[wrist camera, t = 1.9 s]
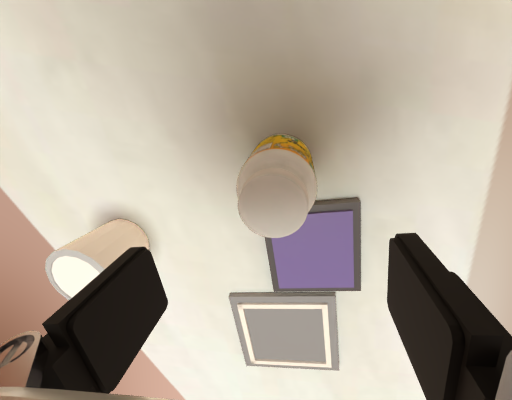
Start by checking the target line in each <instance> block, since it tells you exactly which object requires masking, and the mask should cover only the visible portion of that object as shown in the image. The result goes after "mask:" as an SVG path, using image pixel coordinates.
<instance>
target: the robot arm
mask: <svg viewBox="0 0 512 400" xmlns="http://www.w3.org/2000/svg"><path fill="white" fill-rule="evenodd" d="M387 303H388V308H389V311H390V313H391V316H392V318H393V321H394V323H395V325H396V328H397V330H398V333H399V335H400V337H401V340H402V342H403V345H404V347H405V349H406V352H407V354H408V356H409V359H410V361H411V364H412V366H413V368H414V371H415V373H416V376H417V378H418V380H419V383H420V385H421V388H422V390H423V392H424V395H425V397H426V400H512V336H511V335H510V334H509V333H508V331H507V330H506V329H505V328H504V327H503V326H502V325H501V324H500V323H499V321H498V320H497V319H496V318H495V317H494V316H493V315H492V313H490V311H489V310H488V309H487V308H486V307H485V306H484V304H483V303H482V302H481V301H480V300H479V299H478V298H477V297H476V296H475V294H474V293H473V292H472V291H471V290H470V289H469V288H468V286H467V285H466V284H465V283H464V282H463V281H462V280H461V279H460V277H459V276H458V275H456V274H455V273H453V272H449V271H448V270H447V269H446V267H445V266H444V265H443V264H442V263H441V262H440V260H439V259H438V258H437V257H436V256H435V255H434V253H433V252H432V251H431V250H430V249H429V248H428V246H427V245H426V244H425V243H424V242H423V241H422V239H421V238H420V237H419V236H418V235H417V234H416V233H404V234H396V236H395V238H391V239H390V242H389V266H388V292H387ZM167 305H168V300H167V297H166V294H165V291H164V288H163V285H162V283H161V280H160V277H159V274H158V271H157V268H156V266H155V263H154V260H153V257H152V254H151V252H150V251H149V250H147V248H146V247H130V248H129V249H128V250H126V251H125V252H124V253H123V254H122V255H121V256H119V257H118V258H117V259H116V260H115V261H114V262H113V263H111V264H110V265H109V266H108V267H107V268H106V269H105V270H103V271H102V272H101V273H100V274H99V275H98V276H97V277H95V278H94V279H93V280H92V281H91V282H90V283H88V284H87V285H86V286H85V287H84V288H83V289H82V290H80V291H79V292H78V293H77V294H76V295H75V296H74V297H72V298H71V299H70V300H69V301H68V302H67V303H66V304H64V305H63V306H62V307H61V308H60V309H59V310H58V311H56V312H55V313H54V314H53V315H52V316H51V317H50V318H48V319H47V320H46V321H45V322H44V323H43V324H42V325H43V326H44V328H45V330H46V331H47V334H46V335H45V336H44V337H42V335H41V334H40V333H39V332H38V331H28V332H24V333H22V334H19V335H16V336H14V337H12V338H10V339H8V340H7V341H6V342H4V343H2V344H0V400H174V399H163V398H151V397H141V396H130V395H118V394H109V393H110V392H111V391H113V390H114V389H115V388H116V386H117V385H118V383H119V382H120V380H121V379H122V377H123V375H124V374H125V372H126V371H127V369H128V368H129V366H130V365H131V363H132V361H133V360H134V358H135V357H136V355H137V354H138V352H139V350H140V349H141V347H142V346H143V344H144V343H145V341H146V340H147V338H148V336H149V335H150V333H151V332H152V330H153V329H154V327H155V325H156V324H157V322H158V321H159V319H160V318H161V316H162V315H163V313H164V311H165V310H166V308H167Z"/></svg>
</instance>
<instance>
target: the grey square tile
mask: <svg viewBox="0 0 512 400" xmlns="http://www.w3.org/2000/svg"><path fill="white" fill-rule="evenodd" d="M229 300H230V304H231V308H232V311H233V315H234V319H235V323H236V327H237V331H238V335H239V339H240V343H241V347H242V351H243V355H244V358H245V362H246V366H263V367H282V368H301V369H320V370H339V357H338V338H337V318H336V299H335V292H300V293H230V295H229Z"/></svg>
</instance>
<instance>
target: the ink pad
mask: <svg viewBox="0 0 512 400" xmlns="http://www.w3.org/2000/svg"><path fill="white" fill-rule="evenodd" d="M265 241H266V247H267V253H268V259H269V265H270V271H271V277H272V283H273V289H274V292H284V291H361V202H360V200H359V198H350V199H338V200H325V201H315V202H314V204H313V206H312V208H311V209H310V211H309V212H308V214H307V217H306V220H305V222H304V223H303V225H302V226H301V227H300V228H299V229H298V230H297V231H296V232H294V233H292V234H291V235H288V236H285V237H281V238H268V237H265Z"/></svg>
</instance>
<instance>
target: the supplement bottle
mask: <svg viewBox="0 0 512 400" xmlns="http://www.w3.org/2000/svg"><path fill="white" fill-rule="evenodd" d="M236 186H237V196H238V211H239V214H240V217H241V219H242V221H243V222H244V224H245V225H246V226H247V227H248V228H249V229H250V230H251V231H253V232H254V233H256V234H258V235H261V236H264V237H268V238H281V237H285V236H288V235H291V234H292V233H294V232H296V231H297V230H298V229H299V228H300V227H301V226H302V225H303V223H304V222H305V220H306V217H307V214H308V212H309V211H310V209H311V208H312V206H313V204H314V202H315V199H316V195H317V181H316V176H315V171H314V167H313V162H312V157H311V154H310V151H309V150H308V148H307V146H306V145H305V144H304V143H303V142H302V141H301V140H299V139H298V138H296V137H293V136H290V135H286V134H276V135H272V136H269V137H267V138H266V139H264V140H263V141H262V142H261V143H260V144H259V145H258V146H257V147H256V148H255V150H254V151H253V153H252V154H251V155H250V157H249V158H248V160H247V161H246V162H245V164H244V165H243V167H242V168H241V170H240V173H239V175H238V179H237V185H236Z"/></svg>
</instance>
